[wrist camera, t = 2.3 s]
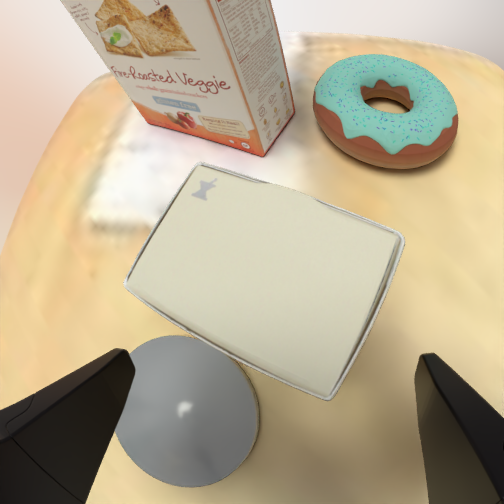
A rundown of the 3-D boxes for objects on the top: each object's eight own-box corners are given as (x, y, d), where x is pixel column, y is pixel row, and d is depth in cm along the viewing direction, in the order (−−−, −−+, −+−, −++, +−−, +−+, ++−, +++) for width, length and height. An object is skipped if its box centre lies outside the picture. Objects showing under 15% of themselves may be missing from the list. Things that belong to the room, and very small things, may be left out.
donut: (285, 127, 24) (277, 91, 21) (364, 65, 26) (364, 34, 22) (408, 209, 19) (421, 176, 16) (470, 124, 21) (482, 92, 17)
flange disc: (294, 422, 16) (286, 434, 13) (180, 504, 15) (153, 523, 12) (189, 307, 20) (162, 293, 17) (99, 394, 19) (64, 393, 16)
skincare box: (234, 338, 19) (108, 282, 8) (267, 277, 20) (188, 154, 9) (329, 385, 17) (332, 412, 6) (361, 319, 18) (410, 229, 6)
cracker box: (145, 128, 29) (33, -32, 10) (181, 89, 30) (94, -68, 11) (263, 164, 23) (150, -112, 4) (298, 113, 25) (234, -127, 6)
